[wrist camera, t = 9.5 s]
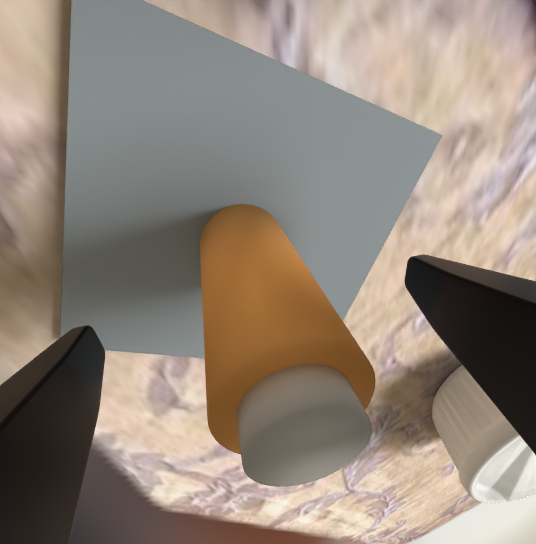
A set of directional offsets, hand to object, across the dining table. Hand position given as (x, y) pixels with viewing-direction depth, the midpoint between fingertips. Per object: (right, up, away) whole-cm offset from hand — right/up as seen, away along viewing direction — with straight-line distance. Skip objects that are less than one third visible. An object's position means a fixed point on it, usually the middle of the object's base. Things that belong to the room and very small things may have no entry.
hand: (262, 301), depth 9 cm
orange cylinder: (-1, +2, +3) cm, 4 cm away
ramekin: (+16, -7, +14) cm, 23 cm away
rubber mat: (-1, +2, +4) cm, 4 cm away
